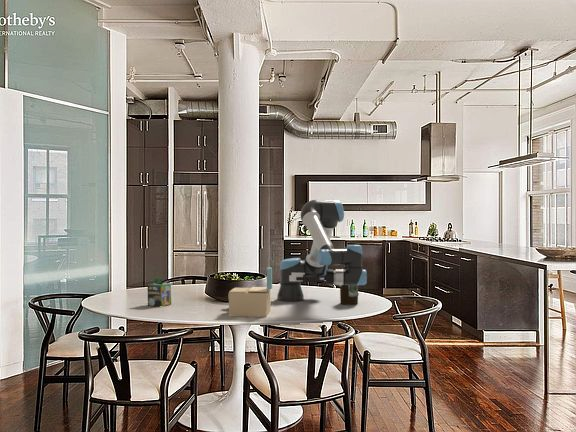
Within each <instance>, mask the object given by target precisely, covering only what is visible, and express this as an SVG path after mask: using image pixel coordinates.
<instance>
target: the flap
mask: <svg viewBox="0 0 576 432" xmlns="http://www.w3.org/2000/svg"><path fill="white" fill-rule="evenodd" d="M249 288H250V289H249V290H248V292H267V291H268V290H269V289H270V290H272V289H273V267H267V268H266V286H252V287H249Z"/></svg>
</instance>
